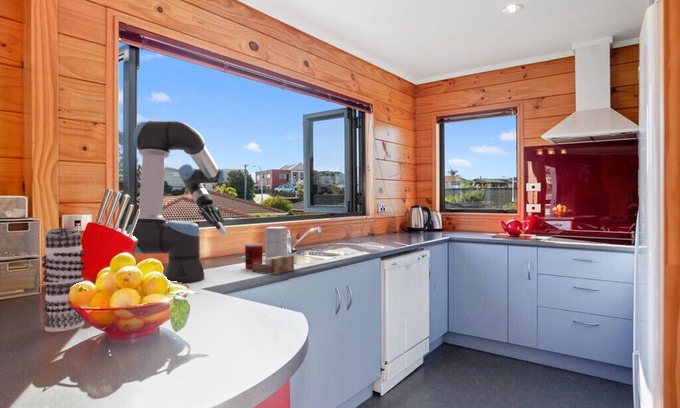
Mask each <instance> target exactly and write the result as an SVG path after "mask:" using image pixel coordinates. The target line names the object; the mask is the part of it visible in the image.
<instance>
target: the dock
mask: <svg viewBox="0 0 680 408" xmlns="http://www.w3.org/2000/svg"><path fill="white" fill-rule="evenodd" d="M294 260H295V257H294V255H293V254H292V255H287V256H285V257H279V258H273V259H271V265H266V263H265V264H264V263H262V264H258V263H253V269H252V272H254V271H255V272H254V273H260V272H263V273H262V274H267V273H271V274H270V275H277V274H282V273H287V272H292V271H295V266H294V265H295V264H294V263H295V261H294Z"/></svg>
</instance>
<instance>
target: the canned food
mask: <svg viewBox="0 0 680 408" xmlns="http://www.w3.org/2000/svg"><path fill="white" fill-rule="evenodd" d="M244 248H245V249H244V253H245V254H244V259H245V261H244V262H245V263H244V264H245V269H246V270H253V263H258V264H263V244H262V243H258V242H257V243H246V244H245V245H244Z"/></svg>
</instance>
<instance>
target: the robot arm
mask: <svg viewBox="0 0 680 408" xmlns="http://www.w3.org/2000/svg"><path fill="white" fill-rule="evenodd" d="M132 140H133V145H134V147H135V148H136V149H137V150H138V154H139V155H141V157H142V163H141V174H140V187H139V188H140V192H139V202H138V203H139V204H138V210H139V209H140V215H139V214H138V215H139V219H138V221H137V224H136V227H135V229H134V232H133V236H135V237H136V238H137V239H138V243H137V245H136V249H135V252H134V254H144V255H147V254H149V255H150V254H151V255H152V254H153V255H155V254H168V260H167V263H166V268H165V270H164V274H163V276H164V275H165V276H166V277H167V279H168V280H170V281H177V282H182V283H181V284H187V283H195V282H199V281H202V280H204V279H205V271H204V268H203V265H202V262H201V257H200V255H201V254H200V249H201V248H200V246H201V245H200V243H201V242H200V239H201V238H200V236H201V234H200V226H199V224H198V223H196V222H192V221H187V220H186V221H185V220H175V219H174V220H172V219H171V220H168V222H167V219H165V218H164V216H163V210H164V209H163V208H164V207H163V206H164V192H165V191H164V190H165V189H164V188H165V176H166V175H165V173H166V159H167V158H169V157H170V154H171V151H176V150H179V151H184V153H185V154H187V155H189V156H190V157H191V159H192V160H193V161H194V163H195V164H196V166H197V167H196V168H195V167H193V166H192V165H191V164H189V163H187V164H186V163H185V164H182V165H181V166H180V167H179V169H178V174H179V177H180V180H182V182H183V184H184V186H185V188H186V189H187V191H188V193H190V195H191V197H192V198H193V201H194V202H195V204H196V206H197V207H198V208H199V209H198V210H197V213H199V214H200V215H201V216H202V217H203V219H205V221H206V222H207V223H208V224H209V225H212V226H213V227H215V228H216V230H217V231H219V234H220V235H221V236H225V235H226V233H228V232H227V230H226V228H225V224H224V221H225V218H224V217H223V216H224V215H223V213H222V211H221V209H222V208H221V207H220V206H219V207H217V206H216V205H215V204H214V202H213V199H212V197H211V196H210V194H209V192H208V191H207V190H206V188H205V186H204V185H203V184H224V183H225V182H227V181H226V180H227V171H226V168H223V167H218V165H217V164H216V162H215V160H214V159H213V157H212V155H211V154H210V152H209V150H208V149H207V147H206V142H205V139H204V137H203V136H202V135H201V134H200V132H198V131H197V130H196V129H195V128H194V127H192V126H191V125H189V124H187V123H185V122H182V121H178V120H172V121H171V120H170V121H168V120H165V121H164V120H161V121H159V120H157V121H156V120H148V121H140V122H139V123H138V124H136V126H135V128H134V131H133V136H132ZM134 220H135V218H134V219H133V221H134ZM133 224H134V223H132V224H129V225H128V227H127V229H126V233H127V234H129V233H130V230H131V227H132V225H133Z"/></svg>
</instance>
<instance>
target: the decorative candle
mask: <svg viewBox="0 0 680 408" xmlns="http://www.w3.org/2000/svg"><path fill="white" fill-rule="evenodd" d="M43 237H44V238H45V246H44V254H45V255H44V256H42V257H41V260H42V261H41V262H42V264H41V267H42V268H43V269H45V270H43V271H42V276H44V277H43V279H42V281H43V284H45V285H46V287H45V289H46V293H45V294H44V295H45V301H44V302H43V305H44V306H45V307H44V309H43V311H44V312H46V313H45V314H44V316H43V318H44V319H45V320H44V323H43V324H44V326H45V327H44V331H46V332H50V333H55V332H57V333H58V332H66V331H71V330H75V329H78V328H80V327H83V326H84V325H85V320H83V319H82V318H81V317H80V315H79V314H78V313H77V312H76V311H75V310H74V309H73V308H71V307H70V306H69V305H68V304H67V301H68V295H69V291H70V288H71V287H72V286H73V285H74V284H76V283H79V282H83V280H84V278H85V275H84V274H82V272H83V271H84V270H85V267H84V266H83V265H85V261H84V260H82V259H81V258H84V257H85V256H86V254H85V253H83V251H85V249H84V248H83V245H82V233H80V232H79V230H78V229H77V228H75V227H60V228H58V227H57V228H51V229H49V230H48V231H47V233H46V234H44V235H43Z"/></svg>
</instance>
